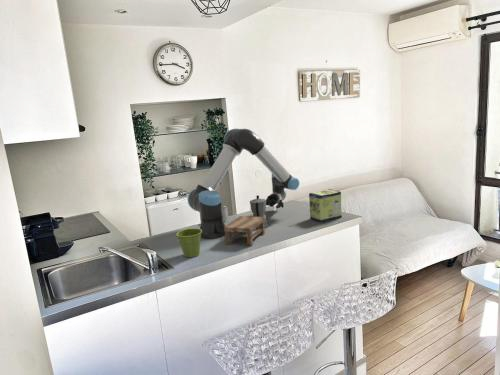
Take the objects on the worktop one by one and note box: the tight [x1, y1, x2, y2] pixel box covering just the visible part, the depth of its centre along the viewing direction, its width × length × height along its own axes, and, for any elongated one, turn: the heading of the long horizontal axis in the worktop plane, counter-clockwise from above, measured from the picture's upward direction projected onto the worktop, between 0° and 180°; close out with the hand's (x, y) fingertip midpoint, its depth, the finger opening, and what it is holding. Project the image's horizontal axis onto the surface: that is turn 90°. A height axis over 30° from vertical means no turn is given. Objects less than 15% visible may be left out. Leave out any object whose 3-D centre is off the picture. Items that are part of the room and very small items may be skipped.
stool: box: [224, 215, 266, 247], centre depth 195 cm, size 14×20×9 cm
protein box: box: [308, 188, 343, 223], centre depth 219 cm, size 10×16×16 cm
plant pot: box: [175, 227, 202, 258], centre depth 177 cm, size 12×12×11 cm
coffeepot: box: [249, 195, 269, 230], centre depth 212 cm, size 15×9×18 cm, turn 175°
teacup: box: [222, 205, 229, 222], centre depth 233 cm, size 14×11×8 cm
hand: (262, 208), depth 215 cm, fingers open, 13 cm apart
